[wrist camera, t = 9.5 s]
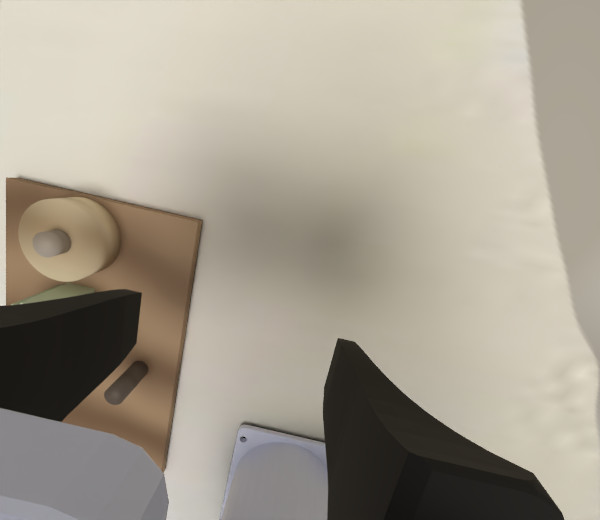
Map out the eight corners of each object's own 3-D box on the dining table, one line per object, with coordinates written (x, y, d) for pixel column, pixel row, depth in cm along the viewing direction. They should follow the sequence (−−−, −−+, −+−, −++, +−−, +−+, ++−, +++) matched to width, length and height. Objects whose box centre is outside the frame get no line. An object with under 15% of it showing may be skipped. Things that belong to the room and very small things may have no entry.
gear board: (165, 469, 26) (126, 542, 21) (15, 435, 26) (-60, 498, 21) (202, 220, 21) (164, 234, 16) (17, 177, 21) (-81, 177, 16)
